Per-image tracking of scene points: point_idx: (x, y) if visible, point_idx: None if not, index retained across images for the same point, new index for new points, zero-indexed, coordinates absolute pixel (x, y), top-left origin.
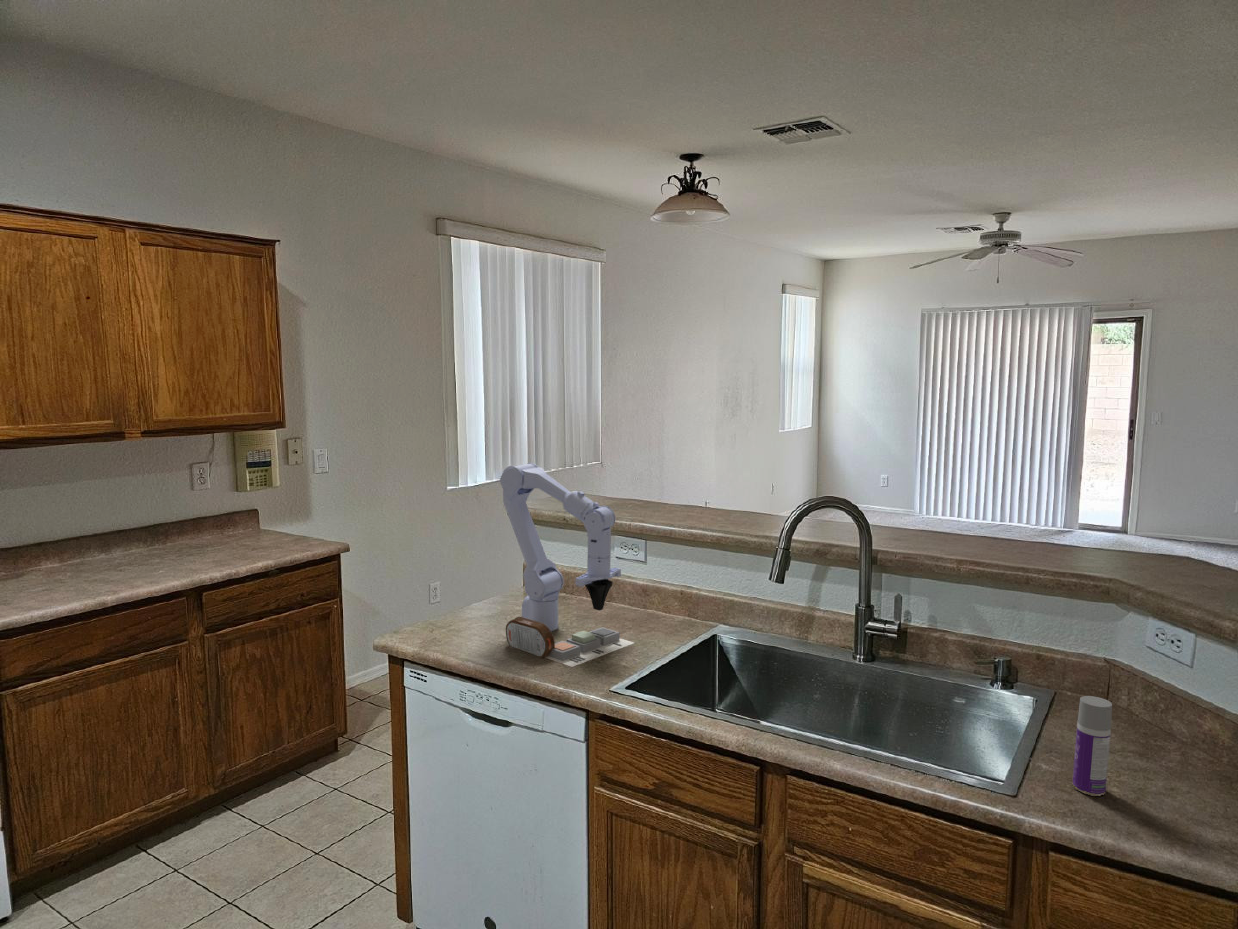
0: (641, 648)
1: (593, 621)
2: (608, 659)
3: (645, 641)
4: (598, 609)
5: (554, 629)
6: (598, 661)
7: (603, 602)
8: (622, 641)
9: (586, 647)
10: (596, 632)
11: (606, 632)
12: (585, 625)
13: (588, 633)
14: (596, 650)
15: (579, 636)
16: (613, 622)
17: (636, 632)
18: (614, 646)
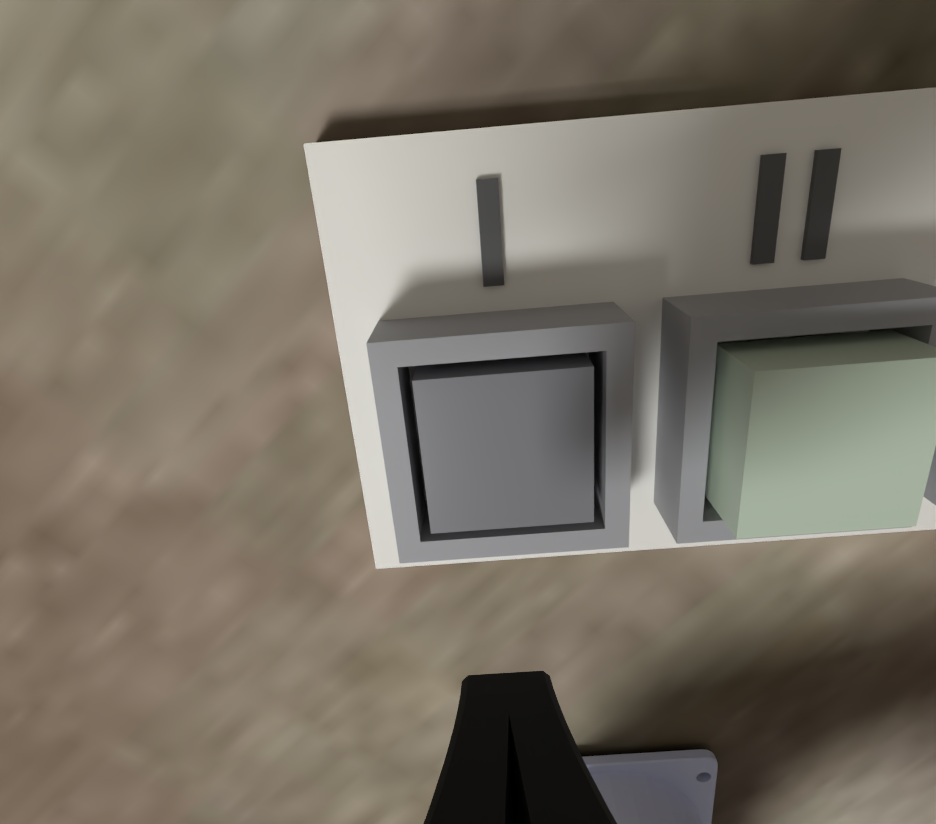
0: (285, 56)
1: (212, 776)
2: (778, 55)
3: (118, 192)
4: (552, 693)
5: (604, 787)
6: (885, 86)
7: (482, 770)
8: (381, 270)
9: (897, 291)
10: (567, 487)
11: (493, 421)
12: (312, 755)
13: (778, 443)
14: (776, 243)
15: (928, 433)
16: (93, 693)
17: (54, 432)
18: (551, 212)
